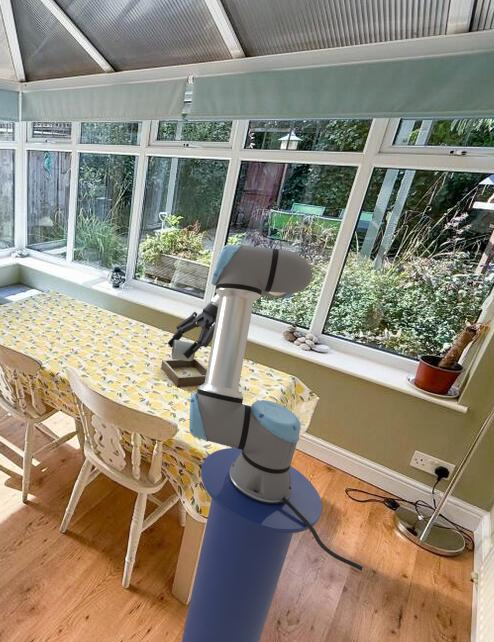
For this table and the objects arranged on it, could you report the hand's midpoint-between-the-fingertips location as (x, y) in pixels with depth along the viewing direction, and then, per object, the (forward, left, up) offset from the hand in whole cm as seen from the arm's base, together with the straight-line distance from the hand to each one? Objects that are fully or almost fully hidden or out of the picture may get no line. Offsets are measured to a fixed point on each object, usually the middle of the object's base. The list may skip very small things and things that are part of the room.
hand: (177, 350), depth 159 cm
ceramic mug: (+2, -3, -4) cm, 5 cm away
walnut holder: (+8, -11, -17) cm, 22 cm away
